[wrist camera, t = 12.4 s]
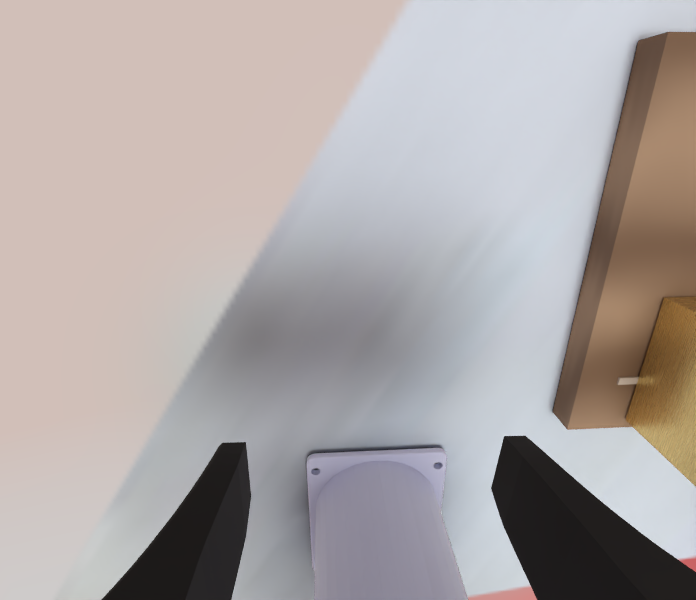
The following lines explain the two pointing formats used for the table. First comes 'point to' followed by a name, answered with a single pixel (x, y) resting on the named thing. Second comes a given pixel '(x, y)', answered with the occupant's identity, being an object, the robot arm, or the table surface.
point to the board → (636, 237)
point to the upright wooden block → (670, 387)
